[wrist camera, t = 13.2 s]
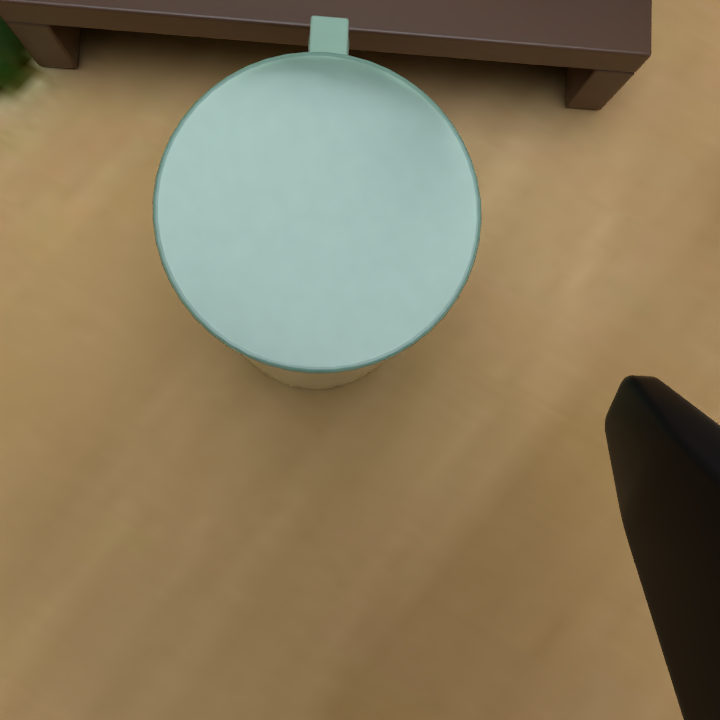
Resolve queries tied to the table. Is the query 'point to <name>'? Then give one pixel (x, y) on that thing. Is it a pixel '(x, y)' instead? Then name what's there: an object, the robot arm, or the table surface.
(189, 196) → the green mug
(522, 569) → the table surface
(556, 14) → the shelf
